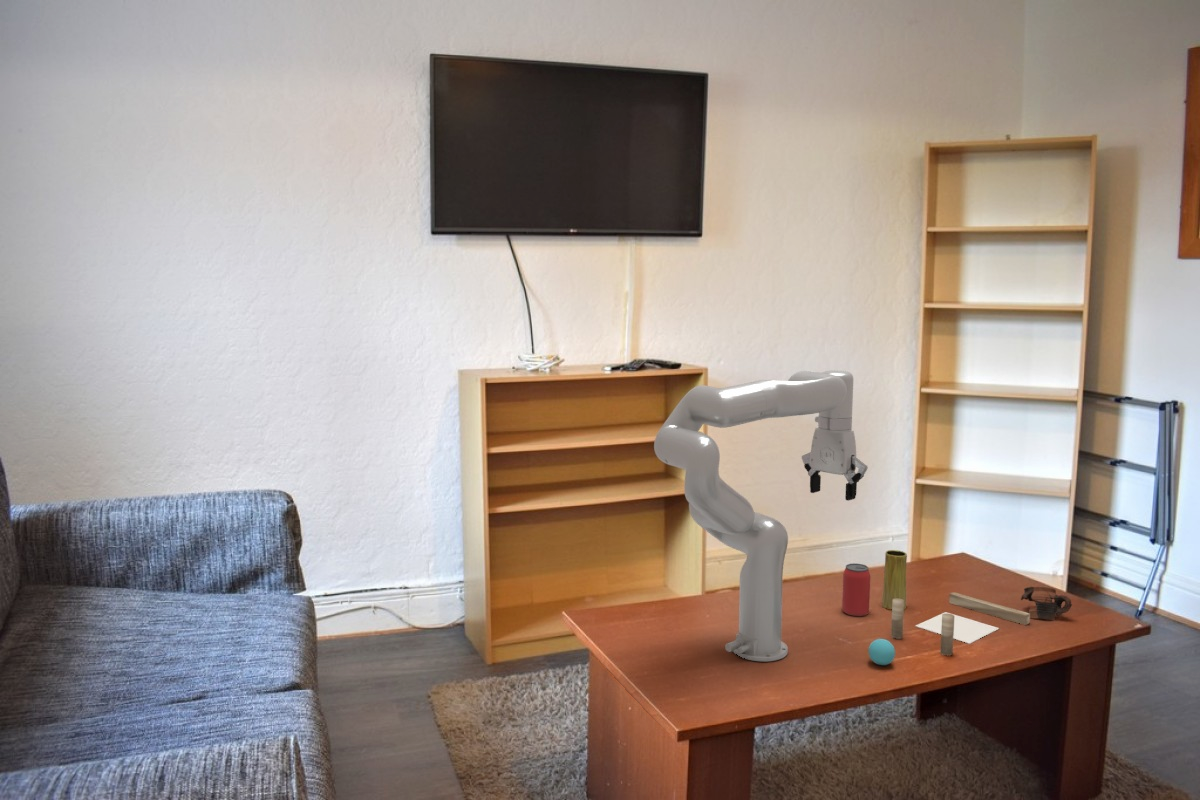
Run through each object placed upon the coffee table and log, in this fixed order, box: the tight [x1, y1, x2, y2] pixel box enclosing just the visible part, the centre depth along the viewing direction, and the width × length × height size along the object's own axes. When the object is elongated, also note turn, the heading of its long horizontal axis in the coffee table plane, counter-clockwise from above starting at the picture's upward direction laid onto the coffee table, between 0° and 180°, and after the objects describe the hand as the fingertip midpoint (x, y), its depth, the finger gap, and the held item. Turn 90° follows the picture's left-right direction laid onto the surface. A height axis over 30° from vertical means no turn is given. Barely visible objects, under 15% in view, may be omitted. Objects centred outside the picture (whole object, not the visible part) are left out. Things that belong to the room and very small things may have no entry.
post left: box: [890, 598, 905, 640], centre depth 217 cm, size 3×3×9 cm
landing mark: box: [914, 611, 1000, 645], centre depth 223 cm, size 14×14×1 cm
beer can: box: [841, 562, 871, 617], centre depth 233 cm, size 7×7×12 cm
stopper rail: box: [948, 591, 1031, 626], centre depth 232 cm, size 2×20×2 cm, turn 40°
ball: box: [868, 638, 896, 666], centre depth 202 cm, size 6×6×6 cm
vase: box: [881, 549, 908, 610], centre depth 236 cm, size 6×6×14 cm
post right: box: [939, 612, 955, 657], centre depth 207 cm, size 3×3×9 cm
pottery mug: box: [1020, 586, 1073, 622], centre depth 231 cm, size 12×10×8 cm
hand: (832, 495), depth 216 cm, fingers open, 9 cm apart
